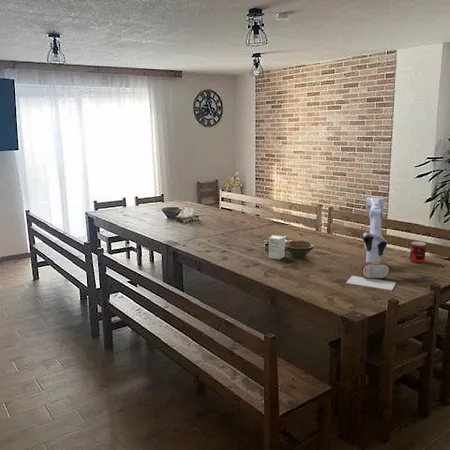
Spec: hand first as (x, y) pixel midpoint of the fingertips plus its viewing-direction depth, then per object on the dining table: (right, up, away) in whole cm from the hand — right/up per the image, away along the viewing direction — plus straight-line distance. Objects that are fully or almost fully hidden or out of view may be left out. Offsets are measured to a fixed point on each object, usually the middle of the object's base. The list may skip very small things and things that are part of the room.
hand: (374, 253), depth 234 cm
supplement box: (-47, -5, +38) cm, 60 cm away
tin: (-1, -13, -2) cm, 13 cm away
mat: (-5, -15, -9) cm, 18 cm away
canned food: (+33, -7, +26) cm, 43 cm away
